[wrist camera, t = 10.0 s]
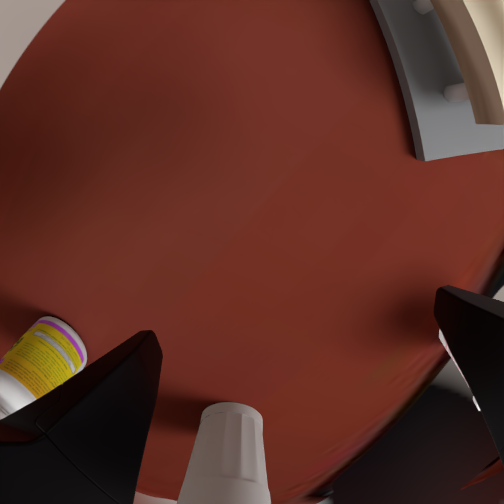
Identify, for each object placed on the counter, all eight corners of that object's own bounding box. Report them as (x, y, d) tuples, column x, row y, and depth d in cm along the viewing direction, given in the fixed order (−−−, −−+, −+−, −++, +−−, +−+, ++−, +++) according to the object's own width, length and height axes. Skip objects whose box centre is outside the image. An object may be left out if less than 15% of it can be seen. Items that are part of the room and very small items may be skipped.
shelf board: (475, 124, 13) (507, 125, 10) (412, -30, 9) (433, -48, 6) (517, 117, 12) (545, 118, 9) (463, -22, 9) (485, -35, 6)
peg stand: (352, -34, 12) (368, -61, 9) (450, -21, 11) (474, -37, 7) (416, 159, 18) (449, 165, 14) (502, 146, 17) (535, 152, 13)
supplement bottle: (42, 301, 23) (-40, 384, 11) (95, 339, 24) (29, 443, 12) (35, 342, 25) (-27, 419, 13) (82, 376, 26) (31, 466, 14)
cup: (268, 440, 28) (269, 533, 17) (197, 437, 28) (182, 527, 17) (273, 397, 26) (277, 511, 14) (189, 393, 26) (164, 502, 14)
